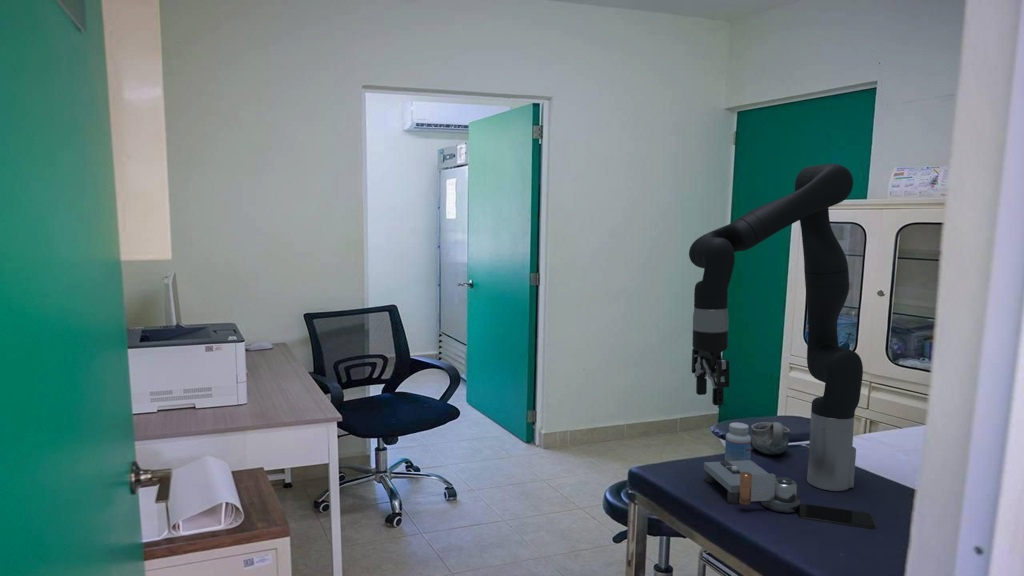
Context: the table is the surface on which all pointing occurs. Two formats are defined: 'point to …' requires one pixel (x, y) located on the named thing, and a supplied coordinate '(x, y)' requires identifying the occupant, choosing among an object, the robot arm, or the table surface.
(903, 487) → the table surface
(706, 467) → the slide switch panel
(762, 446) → the mug
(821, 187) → the robot arm
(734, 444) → the pill bottle
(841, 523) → the smartphone
